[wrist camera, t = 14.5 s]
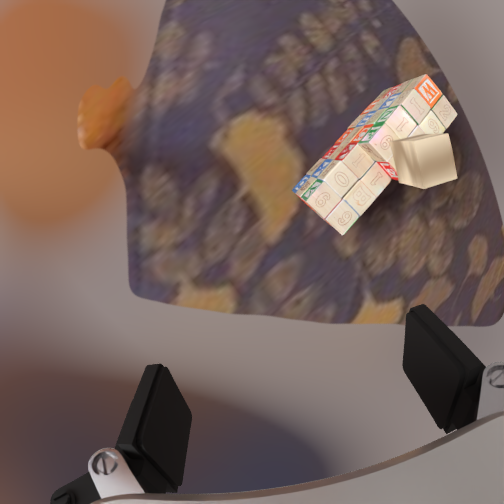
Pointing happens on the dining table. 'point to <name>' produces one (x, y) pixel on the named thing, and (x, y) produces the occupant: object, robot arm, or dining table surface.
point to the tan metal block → (424, 160)
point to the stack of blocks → (372, 151)
